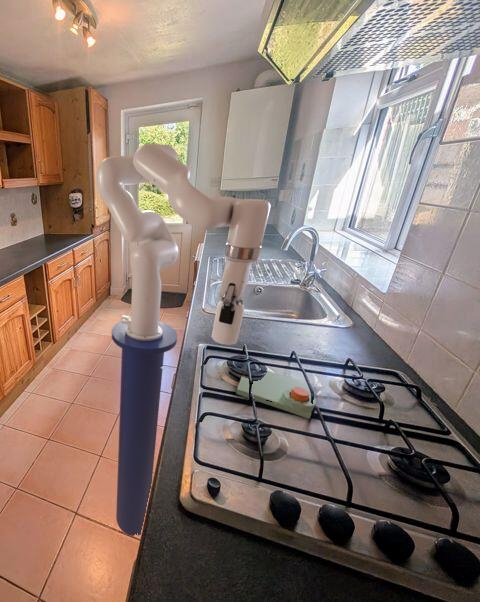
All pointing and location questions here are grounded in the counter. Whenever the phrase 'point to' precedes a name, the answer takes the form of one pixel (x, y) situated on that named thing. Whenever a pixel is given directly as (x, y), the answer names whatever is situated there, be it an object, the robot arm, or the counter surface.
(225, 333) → the can
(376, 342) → the counter surface
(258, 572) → the counter surface
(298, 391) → the tare button
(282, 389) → the scale
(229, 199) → the robot arm
